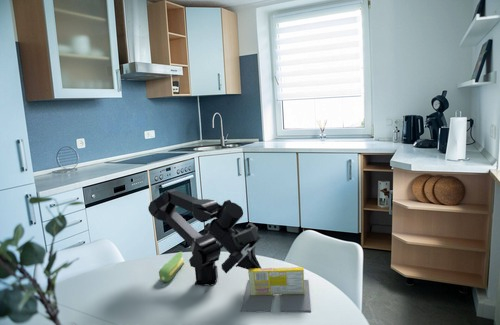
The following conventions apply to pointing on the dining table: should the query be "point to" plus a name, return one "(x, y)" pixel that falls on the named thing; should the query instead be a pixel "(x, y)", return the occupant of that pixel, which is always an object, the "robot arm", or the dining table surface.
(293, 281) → the candy box
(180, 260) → the edible corn
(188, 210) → the robot arm
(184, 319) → the dining table surface
